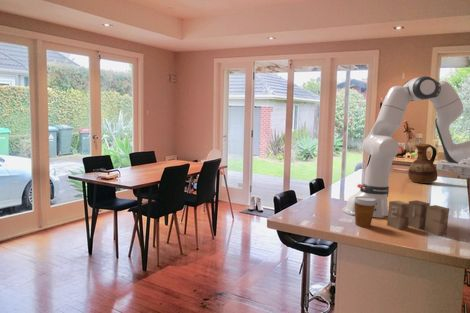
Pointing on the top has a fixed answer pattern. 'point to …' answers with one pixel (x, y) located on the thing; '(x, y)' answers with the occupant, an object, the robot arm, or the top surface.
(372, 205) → the disposable coffee cup
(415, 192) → the top surface
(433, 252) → the top surface
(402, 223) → the walnut block numbered 2
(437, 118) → the robot arm
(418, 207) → the walnut block numbered 1
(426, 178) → the ceramic pitcher
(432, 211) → the plain walnut block
